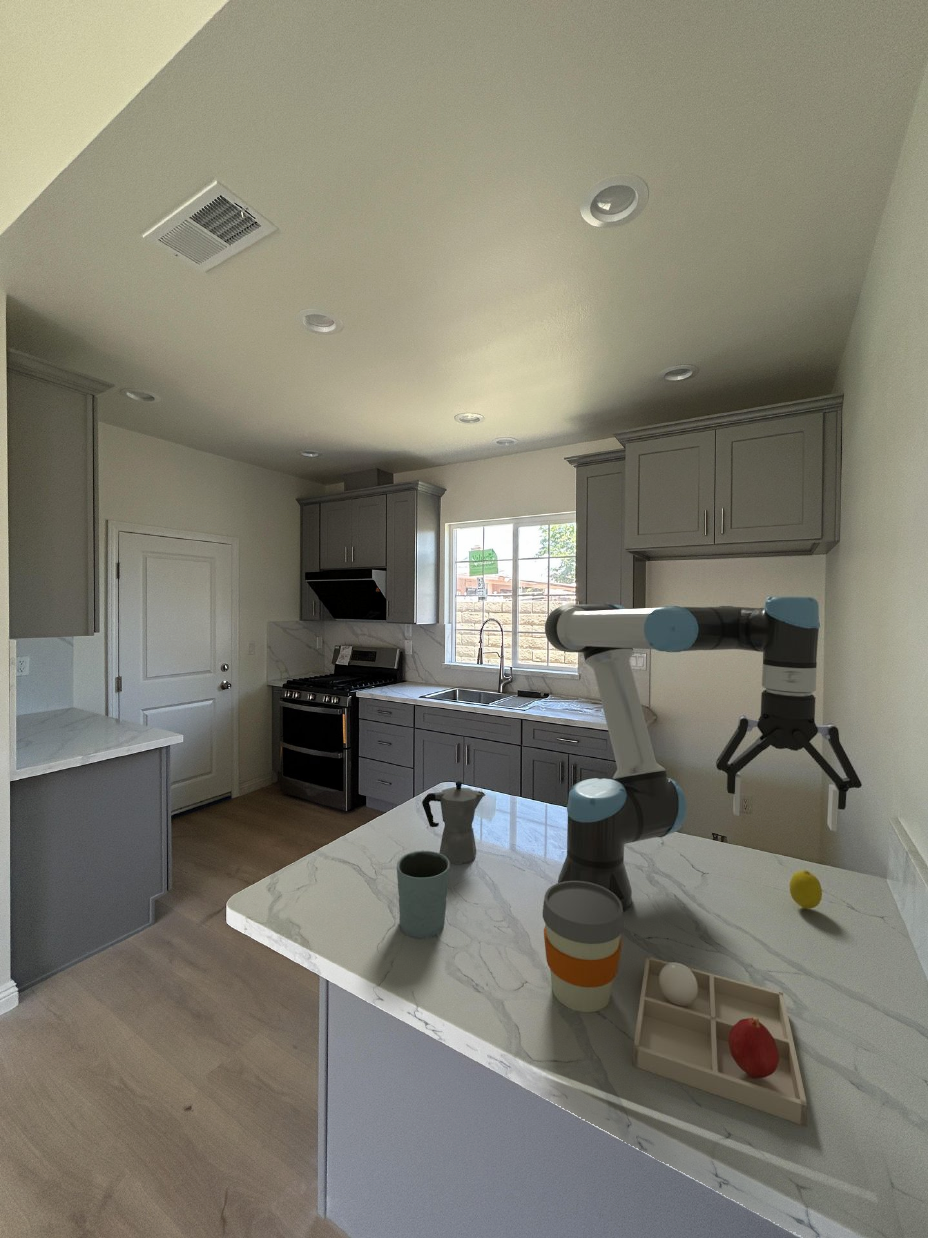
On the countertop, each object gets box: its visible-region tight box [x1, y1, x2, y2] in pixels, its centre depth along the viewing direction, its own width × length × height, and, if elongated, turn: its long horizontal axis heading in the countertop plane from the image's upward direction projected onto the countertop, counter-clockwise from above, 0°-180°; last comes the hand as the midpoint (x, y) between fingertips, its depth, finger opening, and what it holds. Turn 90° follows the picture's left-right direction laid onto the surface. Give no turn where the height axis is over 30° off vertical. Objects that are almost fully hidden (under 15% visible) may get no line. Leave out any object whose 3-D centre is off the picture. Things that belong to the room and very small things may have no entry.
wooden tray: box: [632, 955, 808, 1127], centre depth 77 cm, size 20×20×3 cm
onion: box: [728, 1017, 779, 1078], centre depth 70 cm, size 6×6×8 cm
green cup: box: [396, 850, 451, 939], centre depth 102 cm, size 10×10×12 cm
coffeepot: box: [421, 781, 486, 865], centre depth 129 cm, size 15×9×18 cm, turn 103°
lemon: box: [789, 869, 823, 910], centre depth 109 cm, size 6×6×8 cm
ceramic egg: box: [659, 961, 698, 1006], centre depth 83 cm, size 6×6×6 cm
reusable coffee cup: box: [542, 881, 625, 1013], centre depth 85 cm, size 13×13×15 cm
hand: (782, 820), depth 88 cm, fingers open, 13 cm apart
